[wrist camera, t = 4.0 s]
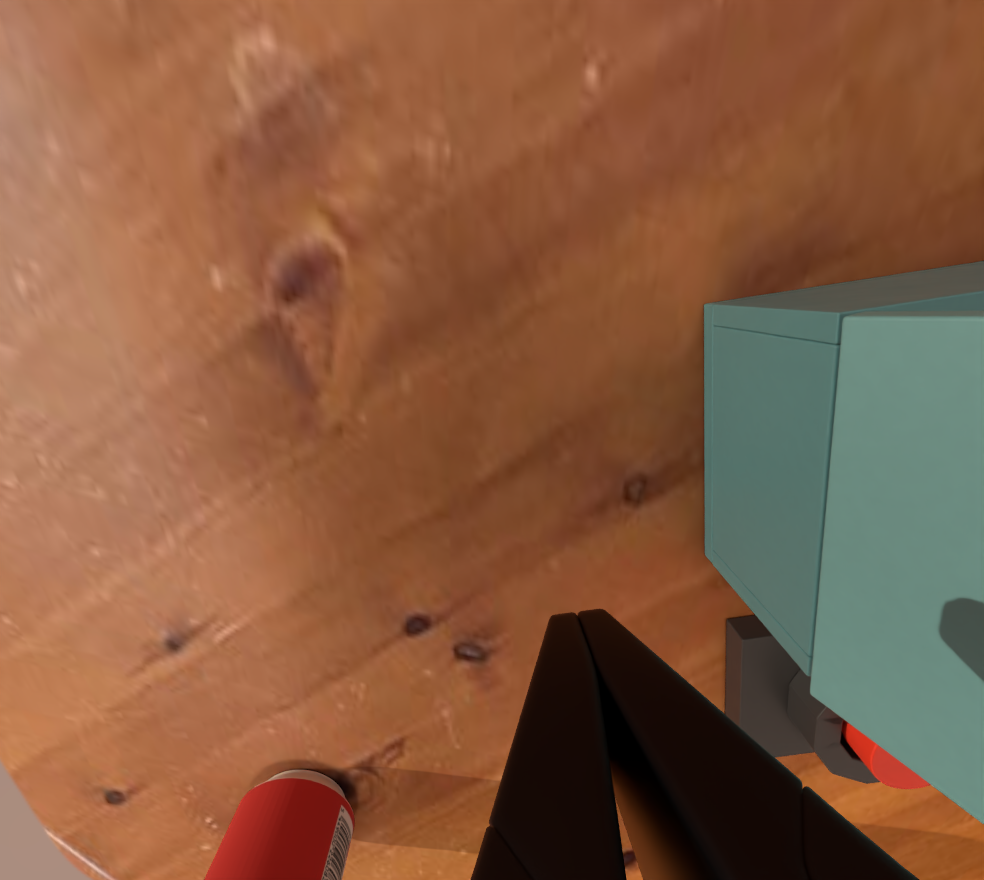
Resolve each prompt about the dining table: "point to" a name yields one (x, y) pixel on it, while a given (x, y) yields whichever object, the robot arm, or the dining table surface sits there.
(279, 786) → the beverage can
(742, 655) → the switch box
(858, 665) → the lid
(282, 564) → the dining table surface
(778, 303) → the open box
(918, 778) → the button
